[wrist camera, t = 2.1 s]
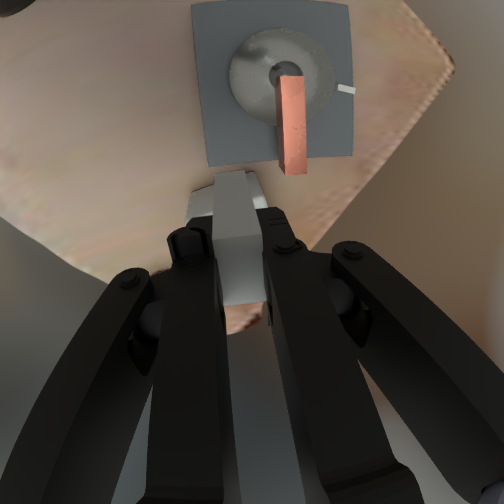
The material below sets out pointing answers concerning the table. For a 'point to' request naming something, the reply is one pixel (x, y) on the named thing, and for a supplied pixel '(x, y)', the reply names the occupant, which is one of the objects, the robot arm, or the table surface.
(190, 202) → the container
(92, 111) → the table surface
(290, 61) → the dial
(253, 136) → the plate
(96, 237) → the table surface
